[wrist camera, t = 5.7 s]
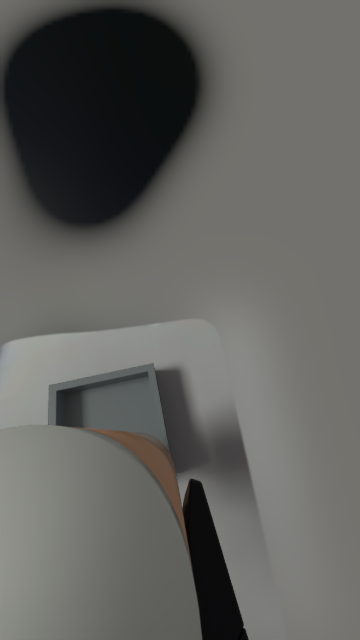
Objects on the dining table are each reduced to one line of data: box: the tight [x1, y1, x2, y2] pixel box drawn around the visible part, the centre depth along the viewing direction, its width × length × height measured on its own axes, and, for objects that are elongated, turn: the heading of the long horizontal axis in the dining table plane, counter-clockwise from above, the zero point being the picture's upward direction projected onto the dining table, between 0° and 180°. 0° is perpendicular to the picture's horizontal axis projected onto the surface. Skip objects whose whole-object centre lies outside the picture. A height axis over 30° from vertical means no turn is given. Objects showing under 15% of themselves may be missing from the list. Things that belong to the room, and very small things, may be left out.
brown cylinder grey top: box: [0, 425, 202, 640], centre depth 8 cm, size 5×5×12 cm
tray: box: [48, 363, 170, 452], centre depth 19 cm, size 9×9×2 cm
